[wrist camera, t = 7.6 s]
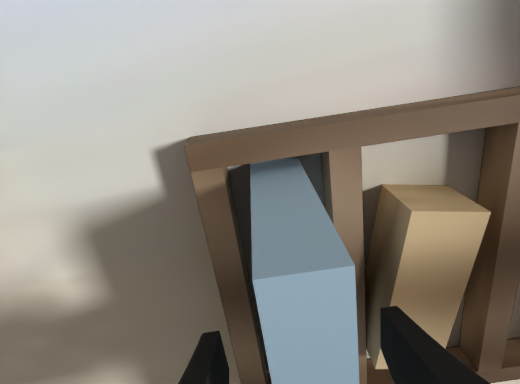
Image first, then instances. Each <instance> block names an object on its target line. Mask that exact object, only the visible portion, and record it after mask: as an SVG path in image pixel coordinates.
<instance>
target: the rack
mask: <svg viewBox="0 0 520 384" xmlns="http://www.w3.org/2000/svg"><path fill="white" fill-rule="evenodd" d="M486 127H487V128H486ZM480 128H486V136H485V144H484V152H483V160H482V168H481V176H480V184H479V192H478V199H477V204H479V205H480V206H482V207H484V208H485V209H487V210H489V211H490V212H491V214H490V217H489V220H488V223H487V226H486V229H485V232H484V235H483V238H482V241H481V244H480V247H479V250H478V253H477V256H476V259H475V262H474V265H473V268H472V271H471V274H470V277H469V280H468V283H467V287H466V295H465V303H464V311H463V319H462V327H461V335H460V343H459V347H452V348H446V350H447V351H449V352H450V353H451V354H452V355H454V356H455V357H456V358H457V359H459V360H460V361H461V362H462V363H464V364H465V365H466V366H467V367H469V368H470V369H471V370H473V371H474V372H475V373H477V374H478V375H479V376H481V377H482V378H483V379H485V380H486V381H488V382H489V383H495V382H502V381H509V380H517V379H520V338H516V339H509V340H507V338H508V333H509V328H510V323H511V318H512V313H513V308H514V303H515V298H516V293H517V288H518V283H519V278H520V86H519V87H513V88H506V89H500V90H493V91H487V92H480V93H474V94H467V95H461V96H454V97H448V98H441V99H435V100H428V101H422V102H415V103H409V104H402V105H396V106H389V107H383V108H376V109H370V110H363V111H357V112H350V113H344V114H337V115H331V116H324V117H318V118H311V119H305V120H298V121H292V122H285V123H279V124H272V125H266V126H259V127H253V128H246V129H240V130H233V131H227V132H220V133H214V134H207V135H201V136H194V137H191V138H190V139H189V141H188V142H187V143H186V145H185V146H184V147H185V152H186V156H187V160H188V164H189V168H190V172H191V176H192V181H193V185H194V189H195V193H196V197H197V201H198V205H199V210H200V214H201V218H202V222H203V226H204V230H205V234H206V239H207V243H208V247H209V251H210V255H211V259H212V263H213V268H214V272H215V276H216V280H217V284H218V288H219V292H220V297H221V301H222V305H223V309H224V313H225V317H226V321H227V326H228V330H229V334H230V338H231V342H232V346H233V350H234V355H235V359H236V363H237V367H238V371H239V375H240V379H241V384H272V381H271V376H270V373H267V370H266V365H265V360H264V355H263V350H262V344H261V339H260V334H259V329H258V324H257V319H256V313H255V308H254V303H253V298H252V293H251V288H250V283H249V277H248V272H247V267H246V262H245V257H244V252H243V246H242V241H241V236H240V231H239V226H238V221H237V215H236V210H235V205H234V200H233V195H232V190H231V184H230V179H229V174H228V169H227V167H229V166H236V165H243V164H249V163H256V162H262V161H269V160H275V159H282V158H289V157H295V156H302V155H308V154H315V153H321V166H322V179H323V192H324V205H325V210H326V212H327V214H328V215H329V217H330V219H331V221H332V223H333V225H334V227H335V229H336V231H337V232H338V234H339V236H340V238H341V240H342V242H343V244H344V246H345V248H346V249H347V251H348V253H349V255H350V257H351V259H352V261H353V263H354V265H355V280H356V307H357V333H358V360H359V384H395V383H394V381H393V379H392V377H391V374H390V372H389V369H375V367H374V365H373V363H372V360H371V359H366V320H365V280H364V240H363V200H362V160H361V146H368V145H374V144H381V143H388V142H394V141H401V140H407V139H414V138H421V137H427V136H434V135H440V134H447V133H454V132H460V131H467V130H473V129H480Z"/></svg>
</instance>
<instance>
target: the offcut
mask: <svg viewBox="0 0 520 384" xmlns="http://www.w3.org/2000/svg"><path fill="white" fill-rule="evenodd" d="M490 214H491V212H490V211H489V210H487V209H485V208H484V207H482V206H480V205H479V204H477V203H475V202H474V201H472V200H470V199H469V198H467V197H465V196H464V195H462V194H461V193H459V192H457V191H456V190H454V189H452V188H451V187H449V186H447V185H385V184H382V186H381V191H380V197H379V202H378V207H377V213H376V218H375V224H374V229H373V234H372V240H371V245H370V250H369V256H368V261H367V266H366V272H365V277H364V280H365V320H366V348H367V351H368V353H369V355H370V358H371V360H372V363H373V365H374V367H375V369H388V367H387V364H386V361H385V359H384V356H383V353H382V351H381V348H380V308H383V307H391V306H398V307H399V308H400V309H401V310H402V311H403V312H404V313H406V314H407V315H408V316H409V317H410V318H411V319H412V320H413V321H414V322H415V323H416V324H417V325H419V326H420V327H421V328H422V329H423V330H424V331H425V332H426V333H428V334H429V335H430V336H431V337H432V338H433V339H434V340H436V341H437V342H438V343H439V344H440V345H442V346H443V347H444V348H445V349H446V346H447V343H448V340H449V337H450V334H451V331H452V328H453V325H454V322H455V319H456V316H457V313H458V310H459V307H460V304H461V301H462V298H463V295H464V292H465V289H466V286H467V283H468V280H469V277H470V274H471V271H472V268H473V265H474V262H475V259H476V256H477V253H478V250H479V247H480V244H481V241H482V238H483V235H484V232H485V229H486V226H487V223H488V220H489V217H490Z"/></svg>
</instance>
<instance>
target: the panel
mask: <svg viewBox="0 0 520 384" xmlns="http://www.w3.org/2000/svg"><path fill="white" fill-rule="evenodd" d="M250 191H251V239H252V281H253V286H254V291H255V297H256V302H257V307H258V313H259V318H260V323H261V328H262V334H263V339H264V344H265V350H266V355H267V360H268V366H269V371H270V376H271V381H272V384H359V360H358V333H357V307H356V280H355V265H354V263H353V261H352V259H351V257H350V255H349V253H348V251H347V249H346V248H345V246H344V244H343V242H342V240H341V238H340V236H339V234H338V232H337V231H336V229H335V227H334V225H333V223H332V221H331V219H330V217H329V215H328V214H327V212H326V210H325V208H324V206H323V204H322V202H321V200H320V198H319V197H318V195H317V193H316V191H315V189H314V187H313V185H312V183H311V181H310V179H309V178H308V176H307V174H306V172H305V170H304V168H303V166H302V164H301V162H300V161H299V159H298V157H297V156H295V157H289V158H282V159H275V160H269V161H262V162H256V163H250Z"/></svg>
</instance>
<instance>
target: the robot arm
mask: <svg viewBox="0 0 520 384" xmlns="http://www.w3.org/2000/svg"><path fill="white" fill-rule="evenodd" d="M380 348H381V351H382V353H383V356H384V359H385V361H386V364H387V367H388V369H389V372H390V374H391V377H392V379H393V381H394V383H395V384H490V383H489V382H488V381H486V380H485V379H483V378H482V377H481V376H479V375H478V374H477V373H475V372H474V371H473V370H471V369H470V368H469V367H467V366H466V365H465V364H464V363H462V362H461V361H460V360H459V359H457V358H456V357H455V356H454V355H452V354H451V353H450V352H449V351H447V350H446V349H445V348H444V347H443V346H442V345H440V344H439V343H438V342H437V341H436V340H434V339H433V338H432V337H431V336H430V335H429V334H428V333H426V332H425V331H424V330H423V329H422V328H421V327H420V326H419V325H417V324H416V323H415V322H414V321H413V320H412V319H411V318H410V317H409V316H408V315H407V314H406V313H404V312H403V311H402V310H401V309H400V308H399V307H398V306H391V307H383V308H380ZM178 384H229V367H228V363H227V359H226V355H225V351H224V347H223V343H222V339H221V335H220V331H215V332H208V333H203V334H202V336H201V338H200V340H199V342H198V345H197V347H196V349H195V351H194V354H193V356H192V358H191V360H190V362H189V364H188V366H187V368H186V370H185V372H184V374H183V376H182V378H181V379H180V381H179V383H178Z"/></svg>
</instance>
